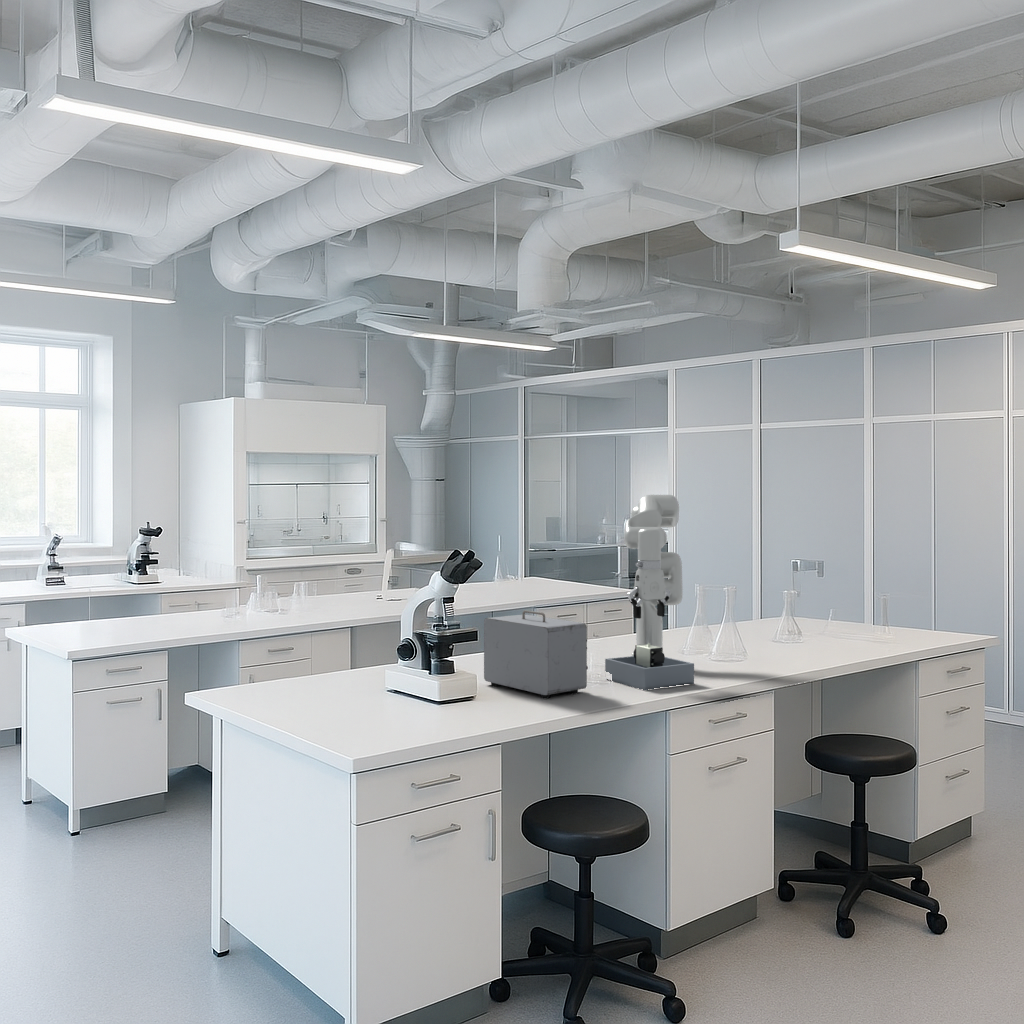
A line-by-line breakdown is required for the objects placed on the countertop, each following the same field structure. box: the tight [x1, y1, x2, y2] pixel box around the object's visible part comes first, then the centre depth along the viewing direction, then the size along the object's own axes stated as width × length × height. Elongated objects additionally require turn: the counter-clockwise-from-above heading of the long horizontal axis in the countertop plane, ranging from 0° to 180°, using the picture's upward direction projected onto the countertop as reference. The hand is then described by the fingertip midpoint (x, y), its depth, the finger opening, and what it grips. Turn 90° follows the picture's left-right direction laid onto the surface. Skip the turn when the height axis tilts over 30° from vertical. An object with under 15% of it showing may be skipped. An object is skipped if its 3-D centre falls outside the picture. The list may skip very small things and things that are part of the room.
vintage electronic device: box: [483, 609, 589, 699], centre depth 314 cm, size 32×18×25 cm, turn 39°
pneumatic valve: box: [632, 643, 666, 668], centre depth 325 cm, size 6×12×12 cm, turn 28°
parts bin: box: [604, 655, 695, 691], centre depth 325 cm, size 22×20×7 cm
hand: (649, 617), depth 325 cm, fingers open, 9 cm apart
